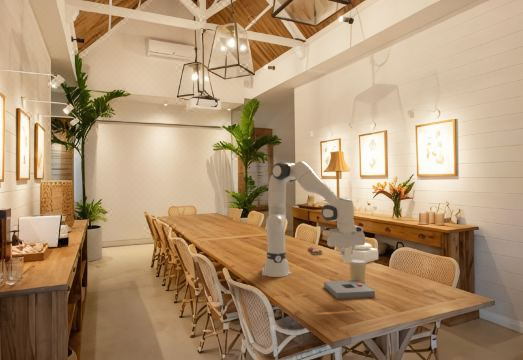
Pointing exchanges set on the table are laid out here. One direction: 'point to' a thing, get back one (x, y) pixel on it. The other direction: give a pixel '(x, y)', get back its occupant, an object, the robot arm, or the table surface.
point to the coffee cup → (358, 270)
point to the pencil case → (315, 251)
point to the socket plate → (349, 289)
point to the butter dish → (365, 253)
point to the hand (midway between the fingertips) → (346, 254)
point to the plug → (346, 254)
